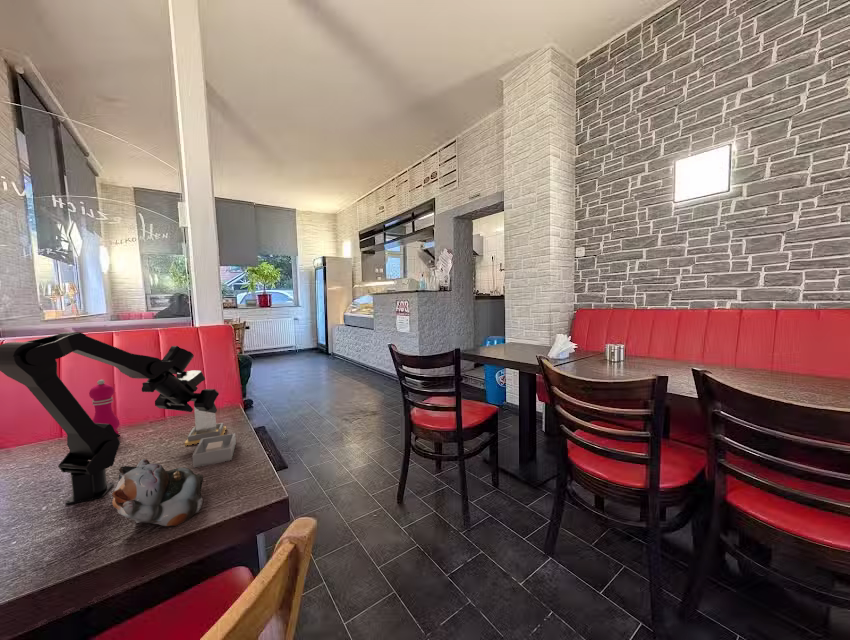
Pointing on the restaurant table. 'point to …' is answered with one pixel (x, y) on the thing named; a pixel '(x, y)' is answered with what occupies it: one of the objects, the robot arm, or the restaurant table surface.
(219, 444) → the light gray open tray
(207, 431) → the grey rectangular block
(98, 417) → the pepper mill
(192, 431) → the square tray
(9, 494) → the restaurant table surface
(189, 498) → the lucky cat figurine
